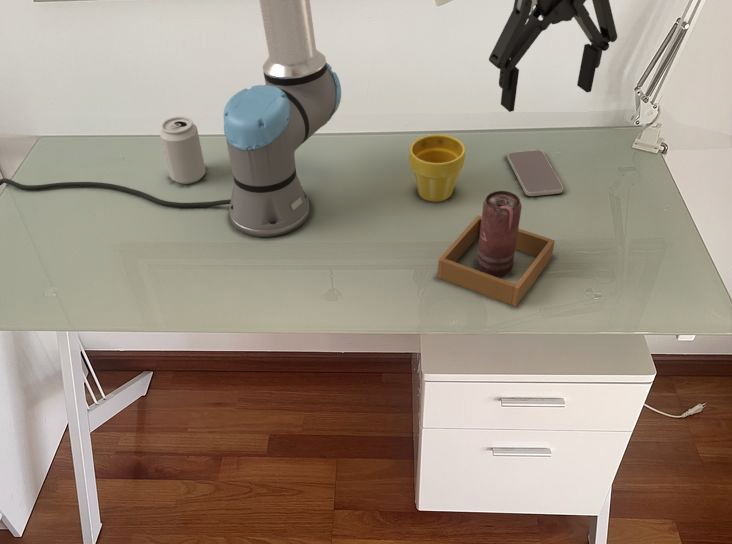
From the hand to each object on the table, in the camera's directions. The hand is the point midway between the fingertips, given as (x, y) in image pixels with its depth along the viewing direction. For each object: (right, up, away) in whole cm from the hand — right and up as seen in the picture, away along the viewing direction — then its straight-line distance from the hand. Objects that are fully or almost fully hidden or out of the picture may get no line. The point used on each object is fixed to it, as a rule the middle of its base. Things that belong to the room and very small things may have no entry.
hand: (546, 98), depth 117 cm
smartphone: (+7, -4, +34) cm, 35 cm away
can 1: (-63, -3, +40) cm, 75 cm away
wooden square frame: (-5, -25, +14) cm, 29 cm away
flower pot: (-13, -8, +31) cm, 35 cm away
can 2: (-5, -25, +15) cm, 29 cm away
